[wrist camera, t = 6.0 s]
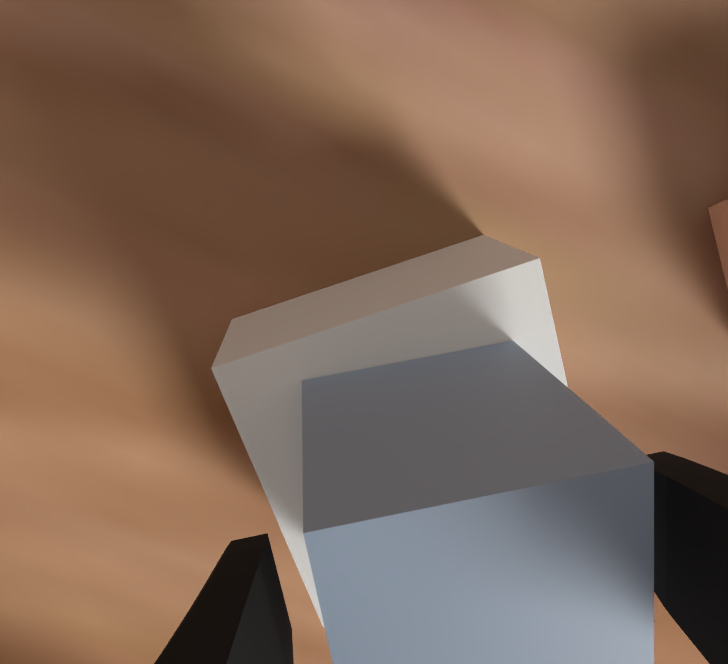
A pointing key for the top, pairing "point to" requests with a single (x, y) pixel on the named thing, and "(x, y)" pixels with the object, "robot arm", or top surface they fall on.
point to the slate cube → (475, 516)
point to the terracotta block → (721, 232)
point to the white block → (371, 349)
